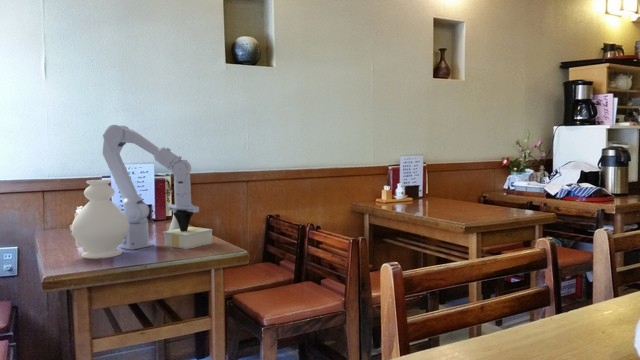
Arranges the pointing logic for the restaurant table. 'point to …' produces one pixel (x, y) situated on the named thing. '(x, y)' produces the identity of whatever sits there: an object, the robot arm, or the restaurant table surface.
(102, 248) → the decorative vase
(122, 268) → the restaurant table surface
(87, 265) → the restaurant table surface
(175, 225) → the flask
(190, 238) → the parcel box
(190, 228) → the box lid
